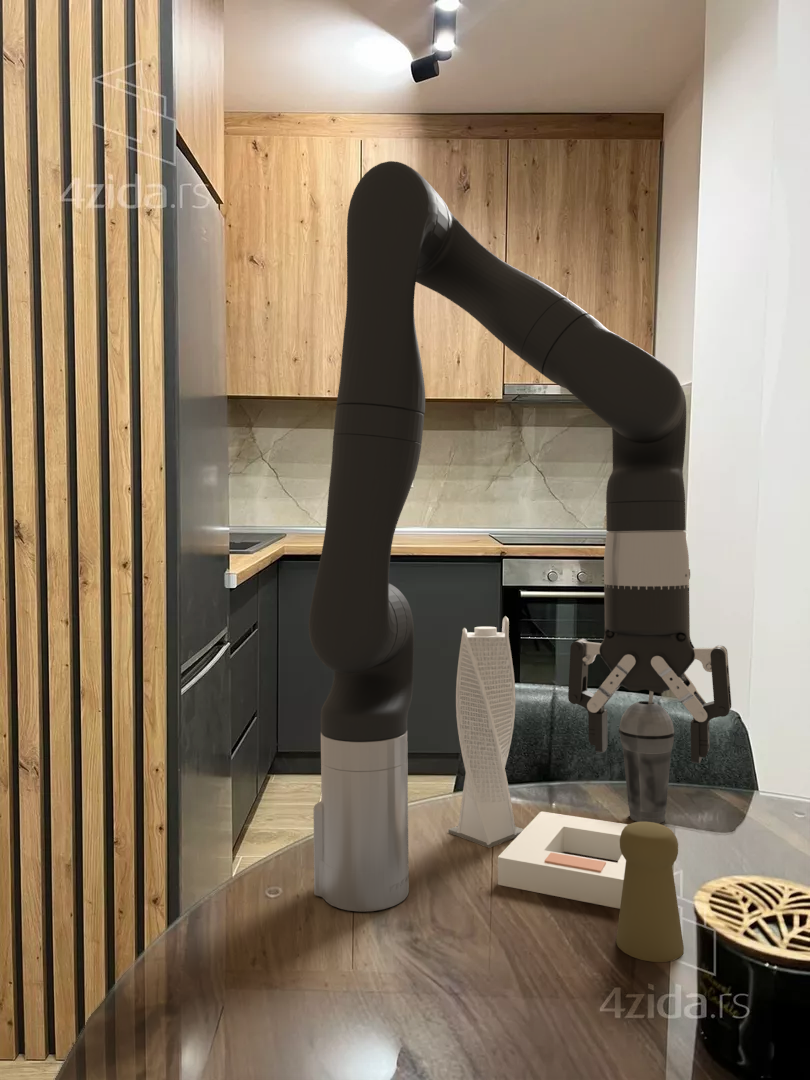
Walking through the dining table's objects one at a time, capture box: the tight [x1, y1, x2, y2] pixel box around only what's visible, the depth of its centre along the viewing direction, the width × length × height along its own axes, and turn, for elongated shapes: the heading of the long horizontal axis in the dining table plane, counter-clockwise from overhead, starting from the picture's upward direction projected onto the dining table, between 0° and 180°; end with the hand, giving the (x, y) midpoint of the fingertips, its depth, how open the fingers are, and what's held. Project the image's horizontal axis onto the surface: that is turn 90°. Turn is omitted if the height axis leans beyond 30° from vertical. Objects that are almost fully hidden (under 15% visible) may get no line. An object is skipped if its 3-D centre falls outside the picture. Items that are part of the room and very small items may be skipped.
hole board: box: [497, 811, 630, 910], centre depth 90 cm, size 16×16×3 cm
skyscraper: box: [448, 615, 525, 849], centre depth 101 cm, size 8×8×28 cm
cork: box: [615, 821, 685, 963], centre depth 74 cm, size 6×6×11 cm
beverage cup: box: [618, 690, 676, 824], centre depth 107 cm, size 7×7×20 cm
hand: (648, 755), depth 74 cm, fingers open, 8 cm apart
